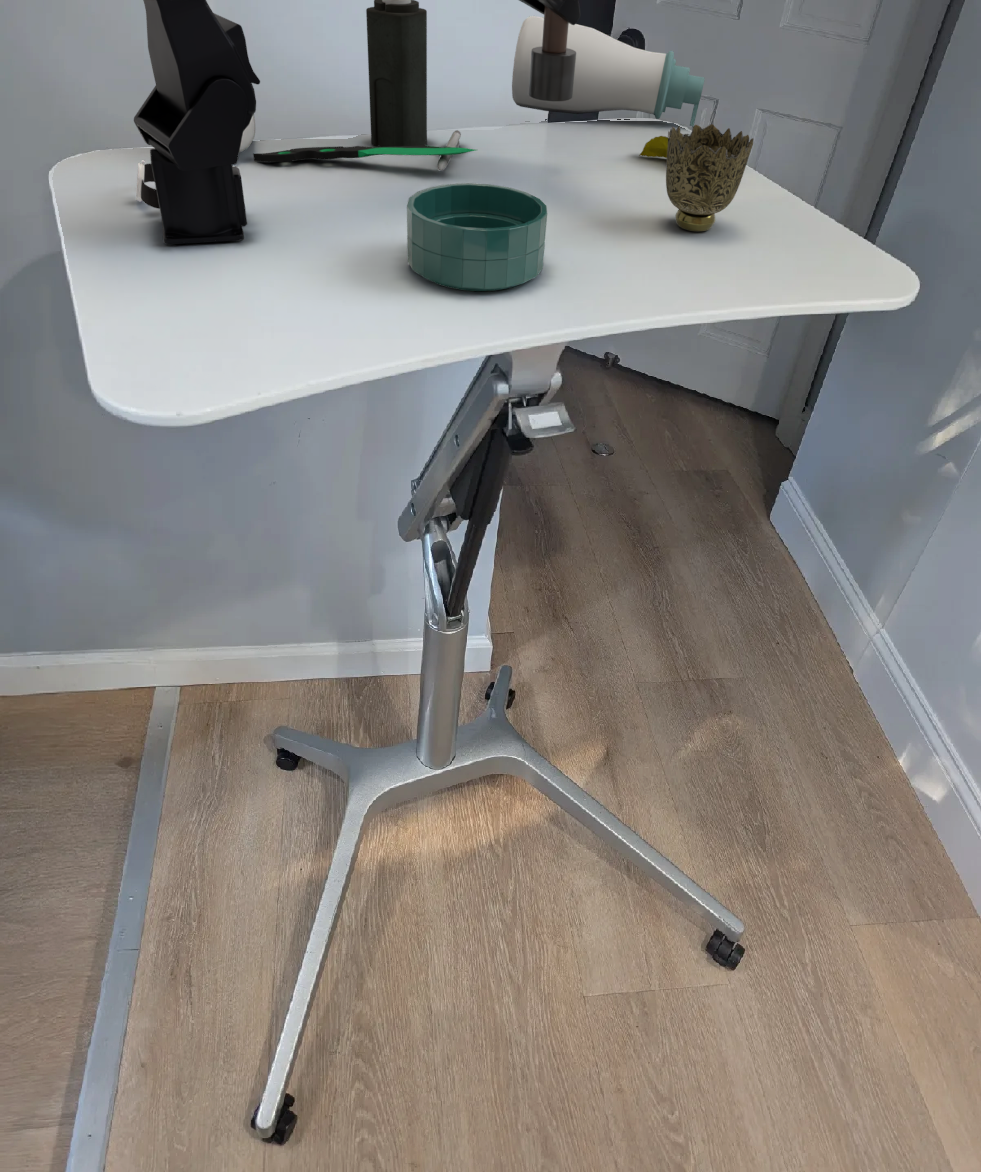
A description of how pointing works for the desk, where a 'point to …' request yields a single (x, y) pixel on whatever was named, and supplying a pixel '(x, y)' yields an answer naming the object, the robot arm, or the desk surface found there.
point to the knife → (354, 152)
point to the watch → (143, 190)
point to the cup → (704, 173)
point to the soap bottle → (607, 75)
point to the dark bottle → (397, 72)
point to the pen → (452, 142)
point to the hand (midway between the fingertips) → (567, 18)
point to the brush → (552, 62)
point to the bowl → (476, 236)
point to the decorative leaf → (656, 147)
